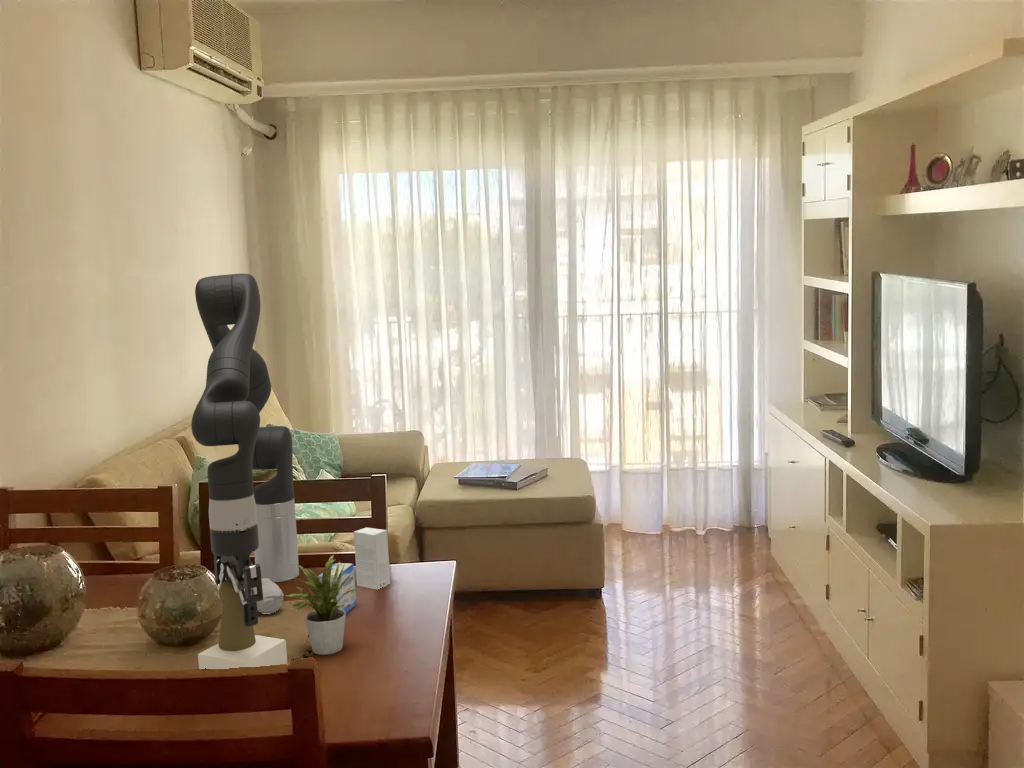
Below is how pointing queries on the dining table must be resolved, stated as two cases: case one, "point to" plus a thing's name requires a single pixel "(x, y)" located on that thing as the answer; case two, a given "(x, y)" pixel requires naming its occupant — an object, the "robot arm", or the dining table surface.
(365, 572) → the skincare box
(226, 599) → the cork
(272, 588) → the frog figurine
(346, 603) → the medicine box
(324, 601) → the house plant
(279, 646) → the cream block
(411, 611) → the dining table surface
